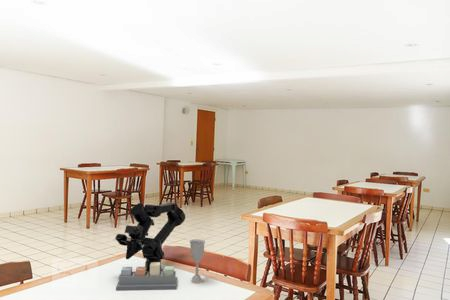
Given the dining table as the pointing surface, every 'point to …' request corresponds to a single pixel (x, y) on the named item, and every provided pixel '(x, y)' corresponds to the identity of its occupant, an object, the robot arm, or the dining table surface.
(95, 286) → the dining table surface
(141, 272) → the peach rectangular block
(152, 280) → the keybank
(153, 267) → the block
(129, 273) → the key blue
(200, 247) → the chalice
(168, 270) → the key sage
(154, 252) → the robot arm
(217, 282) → the dining table surface
